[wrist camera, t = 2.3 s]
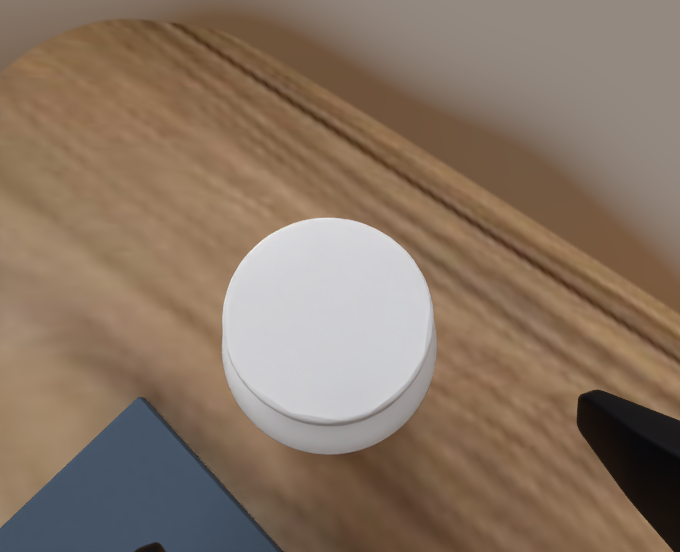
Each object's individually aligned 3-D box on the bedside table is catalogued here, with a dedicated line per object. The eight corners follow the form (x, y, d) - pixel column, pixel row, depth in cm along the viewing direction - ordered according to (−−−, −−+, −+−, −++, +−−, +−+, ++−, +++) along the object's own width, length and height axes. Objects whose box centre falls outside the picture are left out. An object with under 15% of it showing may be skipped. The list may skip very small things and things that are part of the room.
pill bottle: (309, 286, 21) (287, 145, 11) (421, 348, 20) (516, 260, 10) (237, 398, 19) (125, 360, 9) (357, 474, 18) (389, 531, 8)
